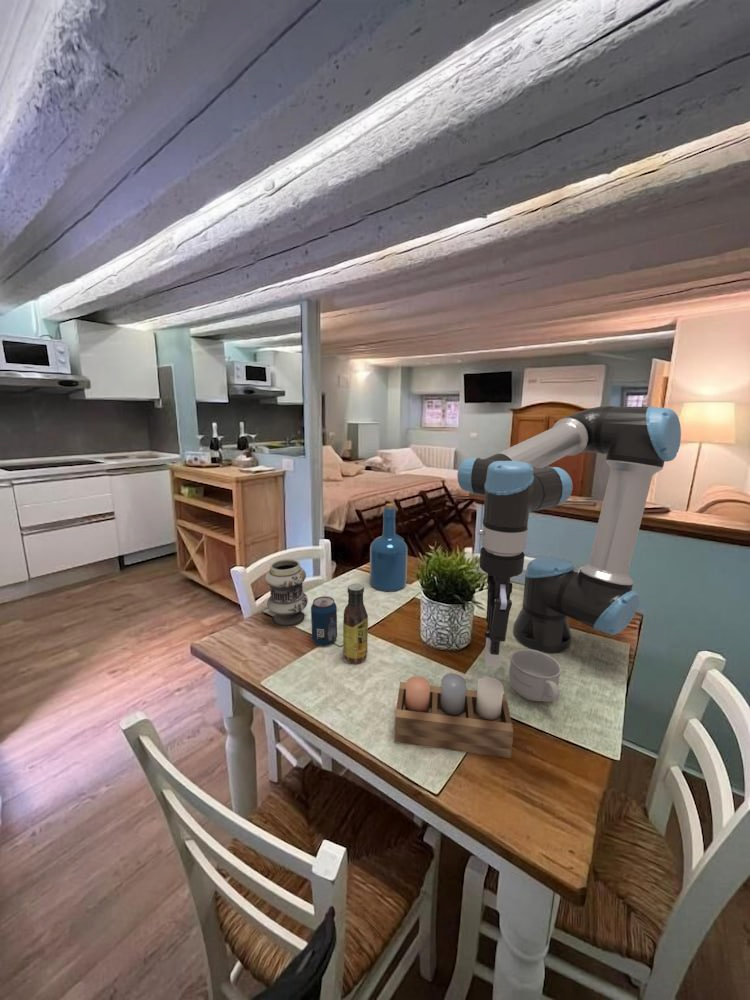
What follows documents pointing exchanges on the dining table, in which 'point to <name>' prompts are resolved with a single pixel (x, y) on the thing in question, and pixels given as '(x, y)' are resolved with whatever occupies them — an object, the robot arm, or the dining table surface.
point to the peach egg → (417, 694)
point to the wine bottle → (388, 556)
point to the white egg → (489, 698)
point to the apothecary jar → (286, 593)
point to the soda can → (324, 621)
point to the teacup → (534, 675)
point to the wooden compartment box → (454, 726)
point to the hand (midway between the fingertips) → (491, 664)
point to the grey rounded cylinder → (453, 694)
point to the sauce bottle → (355, 626)
